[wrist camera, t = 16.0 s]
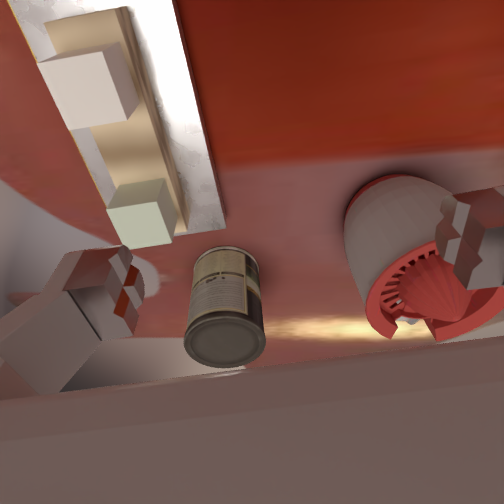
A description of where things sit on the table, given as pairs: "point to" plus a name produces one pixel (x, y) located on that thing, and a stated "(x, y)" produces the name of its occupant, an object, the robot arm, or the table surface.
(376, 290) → the citrus juicer
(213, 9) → the table surface
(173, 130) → the dock
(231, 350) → the coffee can
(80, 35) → the checkered beige brown block
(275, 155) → the table surface
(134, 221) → the pale green cube
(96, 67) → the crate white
